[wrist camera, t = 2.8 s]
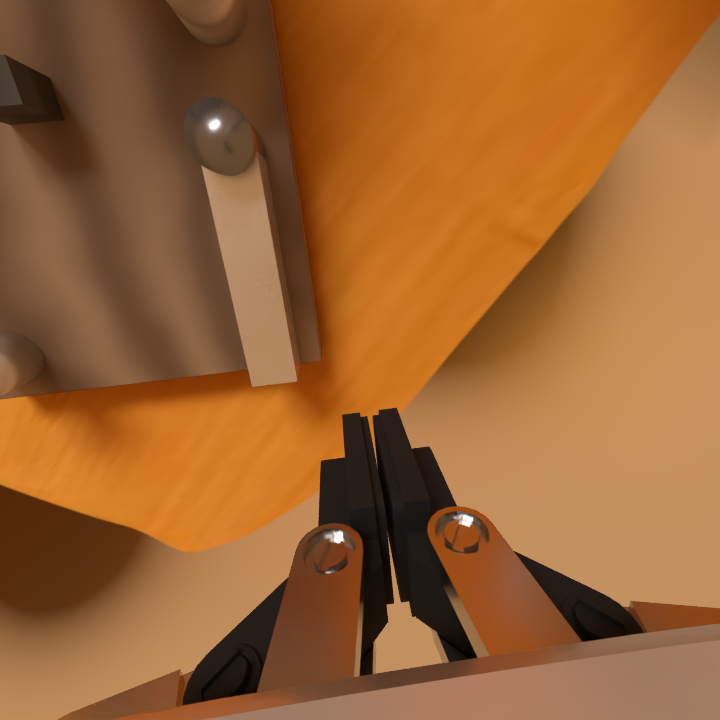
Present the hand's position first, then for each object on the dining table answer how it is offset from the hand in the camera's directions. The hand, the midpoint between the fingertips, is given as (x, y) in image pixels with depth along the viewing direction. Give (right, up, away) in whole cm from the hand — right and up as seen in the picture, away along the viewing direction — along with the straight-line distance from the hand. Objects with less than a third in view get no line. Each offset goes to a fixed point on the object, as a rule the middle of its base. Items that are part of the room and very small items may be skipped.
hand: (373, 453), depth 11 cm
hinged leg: (-7, +10, +13) cm, 17 cm away
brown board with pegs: (-17, +13, +14) cm, 25 cm away
